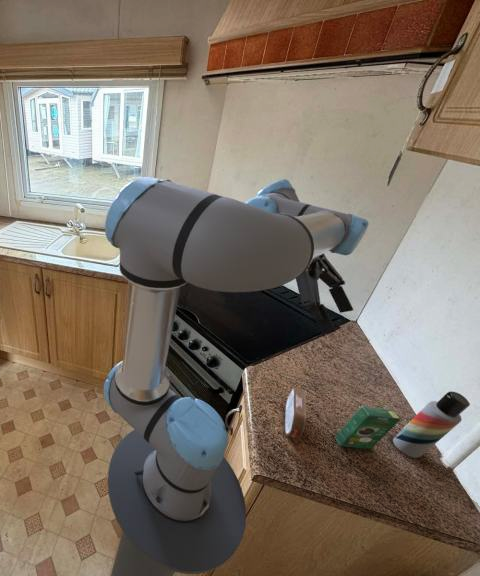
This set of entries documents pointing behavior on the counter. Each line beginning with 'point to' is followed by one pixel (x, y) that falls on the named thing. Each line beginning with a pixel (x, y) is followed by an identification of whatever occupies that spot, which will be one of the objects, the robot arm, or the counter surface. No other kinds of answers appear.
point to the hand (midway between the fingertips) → (338, 321)
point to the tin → (295, 414)
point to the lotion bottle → (431, 424)
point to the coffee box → (367, 427)
